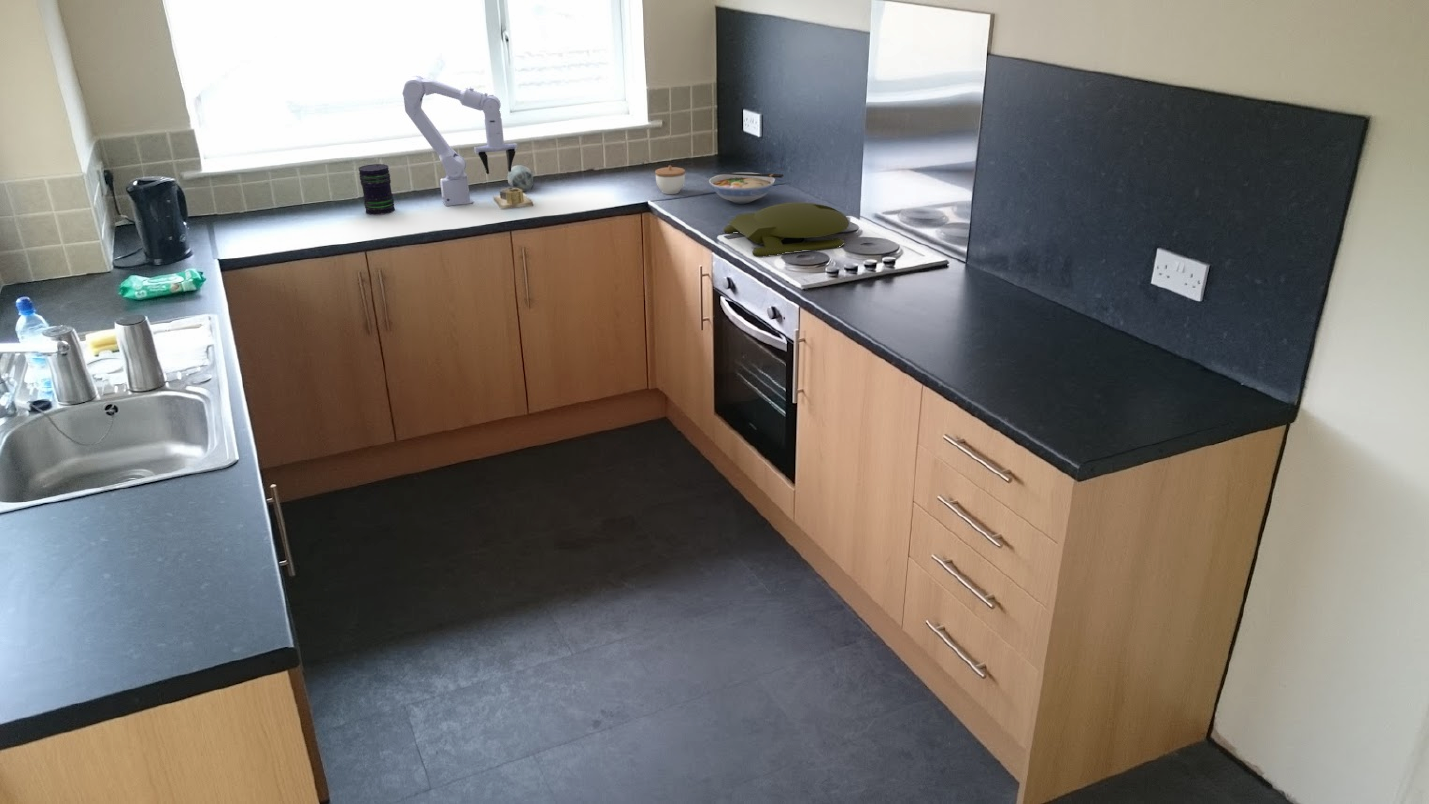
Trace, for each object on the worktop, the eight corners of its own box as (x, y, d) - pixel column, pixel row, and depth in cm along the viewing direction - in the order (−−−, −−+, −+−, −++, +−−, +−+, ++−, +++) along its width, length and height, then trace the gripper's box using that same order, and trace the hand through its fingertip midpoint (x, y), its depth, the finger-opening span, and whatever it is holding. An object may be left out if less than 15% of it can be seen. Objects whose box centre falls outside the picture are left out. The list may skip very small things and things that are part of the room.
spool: (539, 182, 372) (524, 158, 369) (517, 197, 371) (501, 172, 369) (538, 183, 385) (523, 160, 382) (517, 197, 384) (502, 173, 382)
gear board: (501, 209, 352) (499, 196, 350) (493, 199, 364) (492, 187, 362) (533, 205, 356) (531, 192, 354) (524, 196, 368) (523, 183, 366)
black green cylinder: (386, 215, 348) (379, 171, 341) (360, 214, 350) (352, 170, 343) (400, 207, 357) (393, 164, 350) (374, 206, 359) (367, 163, 352)
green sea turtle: (755, 259, 297) (755, 226, 293) (721, 232, 324) (720, 201, 320) (865, 246, 307) (867, 214, 303) (823, 220, 334) (824, 190, 329)
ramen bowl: (697, 207, 350) (696, 183, 347) (718, 191, 370) (718, 168, 366) (767, 212, 343) (767, 187, 339) (785, 195, 362) (786, 172, 359)
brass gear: (508, 204, 353) (507, 193, 351) (505, 200, 358) (504, 189, 356) (524, 202, 354) (523, 191, 353) (521, 199, 359) (520, 187, 358)
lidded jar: (675, 197, 363) (674, 170, 359) (650, 193, 368) (648, 167, 364) (691, 190, 371) (690, 164, 367) (666, 187, 376) (665, 161, 372)
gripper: (475, 136, 347) (479, 176, 353) (517, 132, 352) (521, 172, 358) (471, 133, 353) (476, 172, 359) (513, 129, 358) (517, 168, 364)
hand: (498, 172), depth 359 cm, fingers open, 7 cm apart
